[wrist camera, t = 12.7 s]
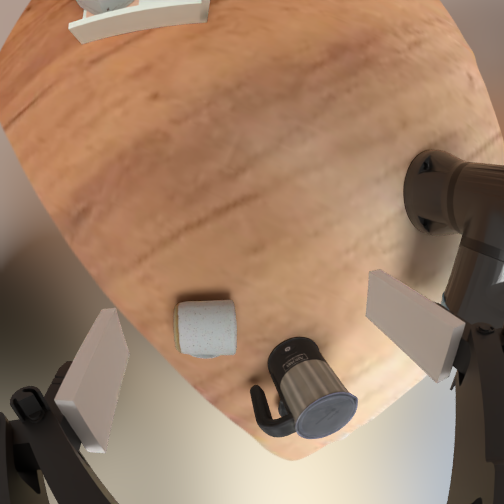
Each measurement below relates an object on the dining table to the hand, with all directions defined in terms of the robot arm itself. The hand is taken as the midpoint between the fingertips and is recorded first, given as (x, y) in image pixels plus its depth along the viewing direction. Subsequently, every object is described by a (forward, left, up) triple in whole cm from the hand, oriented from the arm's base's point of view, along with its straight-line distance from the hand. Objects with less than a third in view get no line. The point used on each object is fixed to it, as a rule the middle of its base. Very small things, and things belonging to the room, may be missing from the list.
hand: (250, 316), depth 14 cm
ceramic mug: (+3, +15, -27) cm, 30 cm away
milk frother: (-11, +29, -27) cm, 40 cm away
